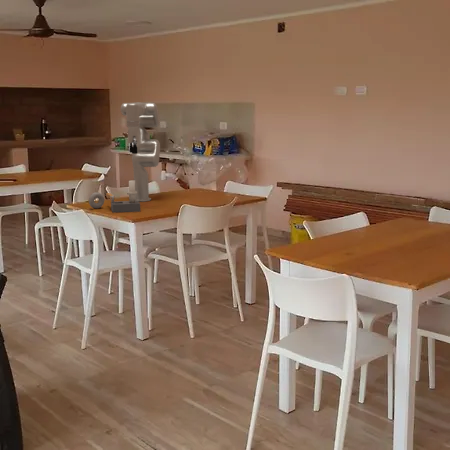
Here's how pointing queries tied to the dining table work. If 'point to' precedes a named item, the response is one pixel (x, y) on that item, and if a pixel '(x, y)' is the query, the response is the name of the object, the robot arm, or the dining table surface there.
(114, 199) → the clip
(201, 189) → the dining table surface
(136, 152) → the robot arm
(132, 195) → the plug
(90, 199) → the donut
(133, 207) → the socket block
